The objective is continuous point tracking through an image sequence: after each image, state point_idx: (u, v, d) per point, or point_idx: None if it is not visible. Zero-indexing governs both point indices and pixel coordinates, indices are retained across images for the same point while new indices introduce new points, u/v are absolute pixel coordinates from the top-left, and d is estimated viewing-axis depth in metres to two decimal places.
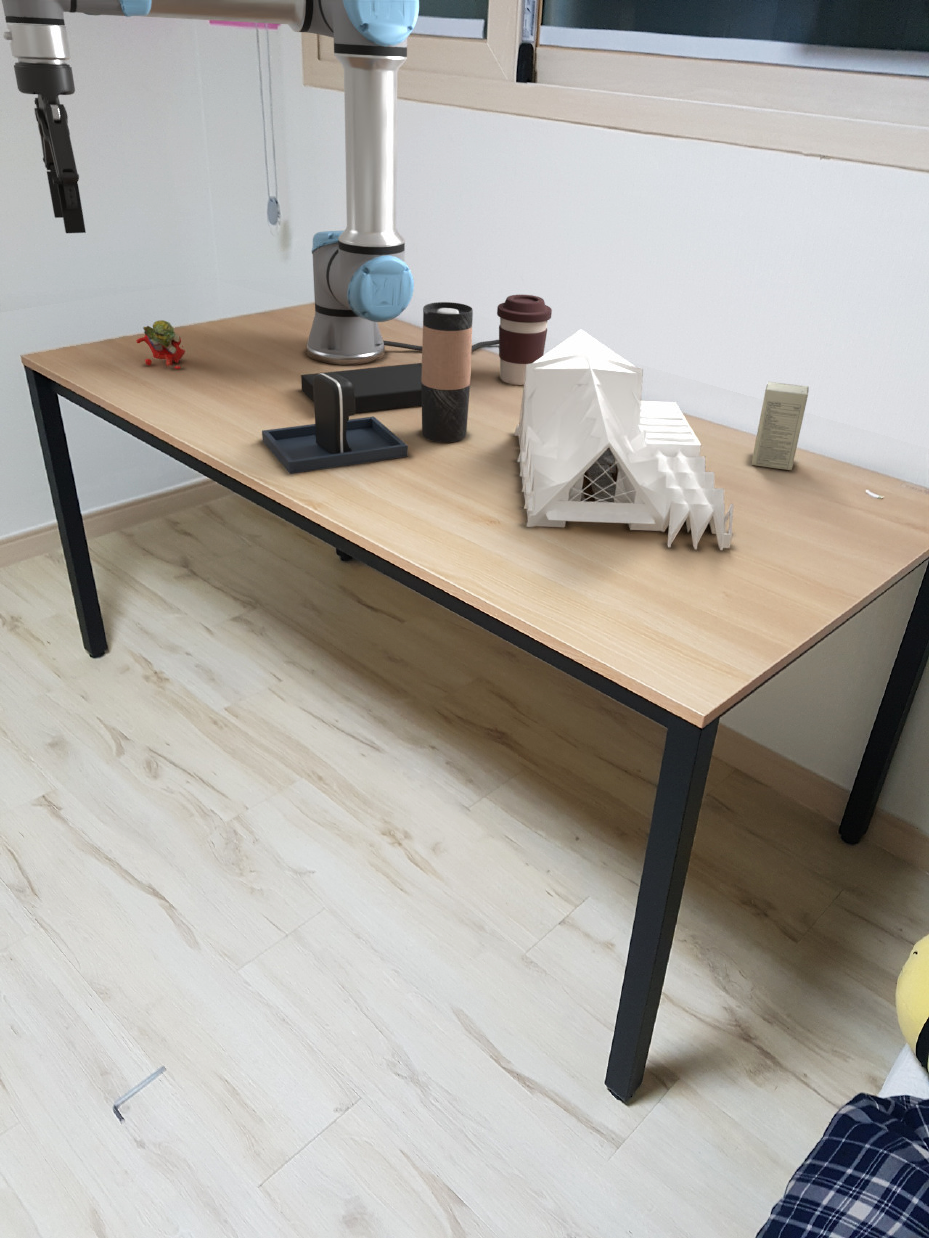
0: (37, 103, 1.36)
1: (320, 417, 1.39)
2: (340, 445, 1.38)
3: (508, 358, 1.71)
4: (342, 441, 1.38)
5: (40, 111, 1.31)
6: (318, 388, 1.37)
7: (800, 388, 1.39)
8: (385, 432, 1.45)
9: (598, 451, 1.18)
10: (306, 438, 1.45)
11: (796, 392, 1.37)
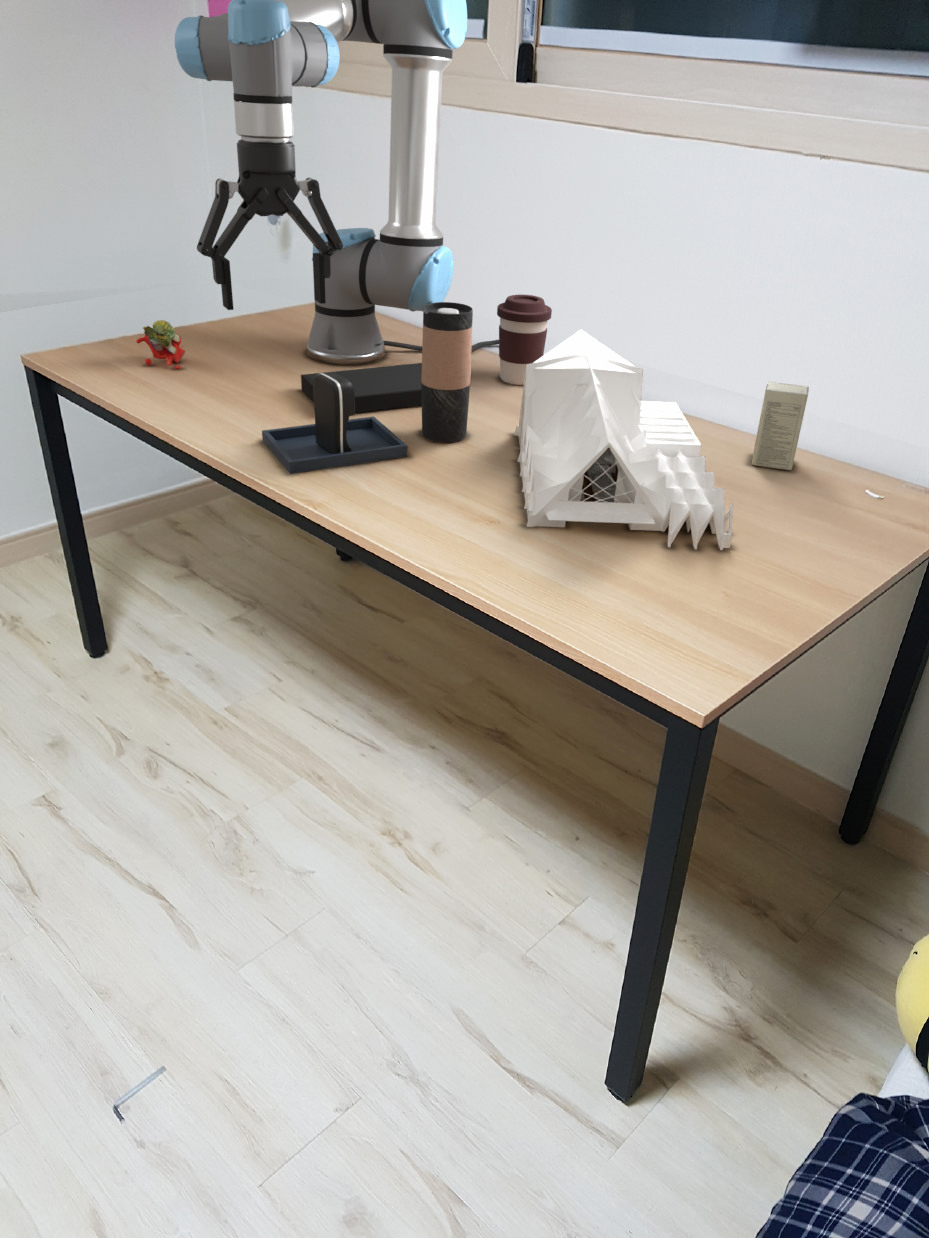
0: None
1: (320, 417, 1.39)
2: (340, 445, 1.38)
3: (508, 358, 1.71)
4: (342, 441, 1.38)
5: None
6: (318, 388, 1.37)
7: (800, 388, 1.39)
8: (385, 432, 1.45)
9: (598, 451, 1.18)
10: (306, 438, 1.45)
11: (796, 392, 1.37)
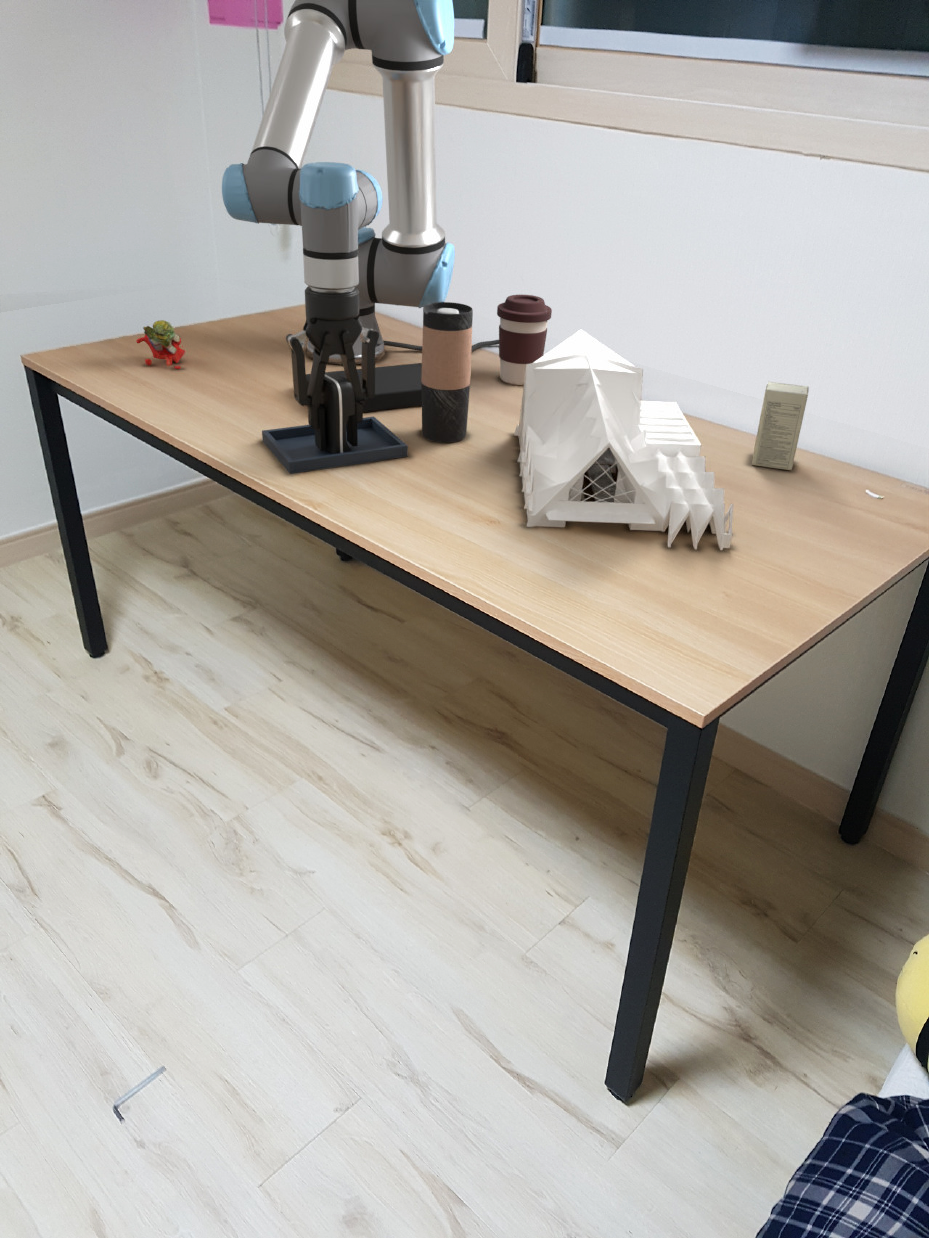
0: None
1: None
2: (340, 445, 1.38)
3: (508, 358, 1.71)
4: (342, 441, 1.38)
5: None
6: None
7: (800, 388, 1.39)
8: (385, 432, 1.45)
9: (598, 451, 1.18)
10: (306, 438, 1.45)
11: (796, 392, 1.37)
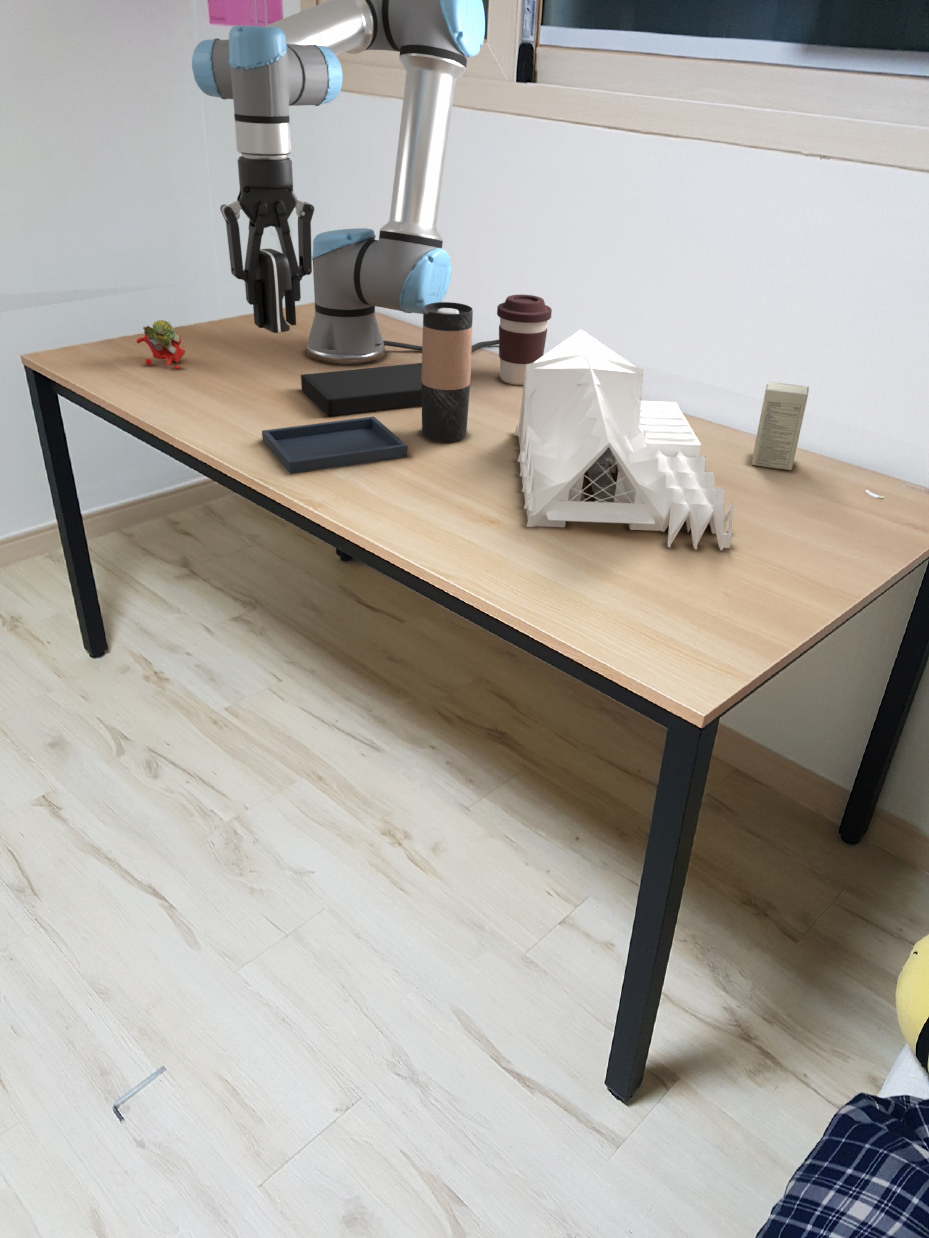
0: None
1: None
2: (277, 321, 1.39)
3: (508, 358, 1.71)
4: (279, 317, 1.39)
5: None
6: None
7: (800, 388, 1.39)
8: (385, 432, 1.45)
9: (598, 451, 1.18)
10: (306, 438, 1.45)
11: (796, 392, 1.37)
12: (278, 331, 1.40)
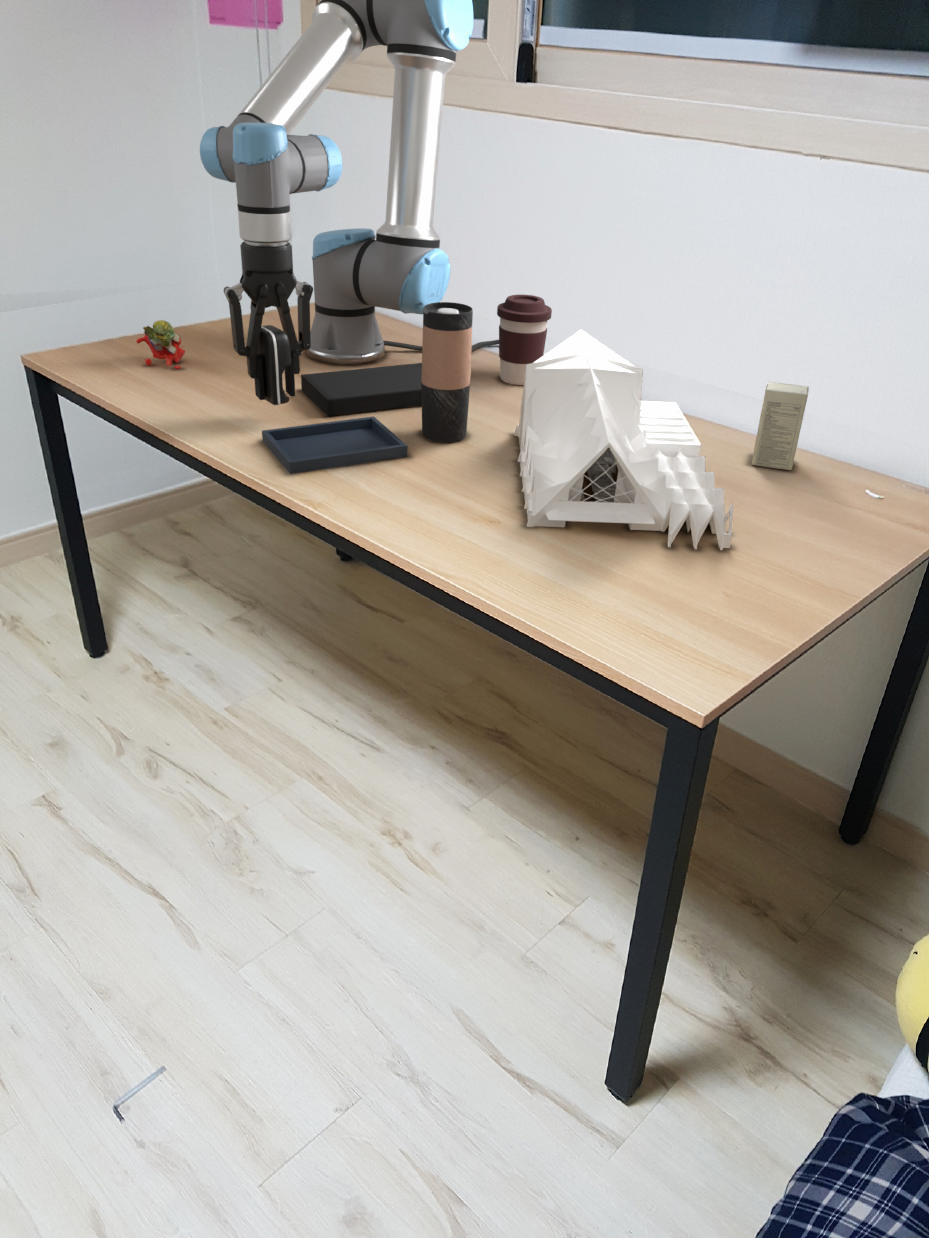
0: None
1: None
2: (277, 394, 1.46)
3: (508, 358, 1.71)
4: (279, 390, 1.46)
5: None
6: None
7: (800, 388, 1.39)
8: (385, 432, 1.45)
9: (598, 451, 1.18)
10: (306, 438, 1.45)
11: (796, 392, 1.37)
12: (278, 403, 1.47)
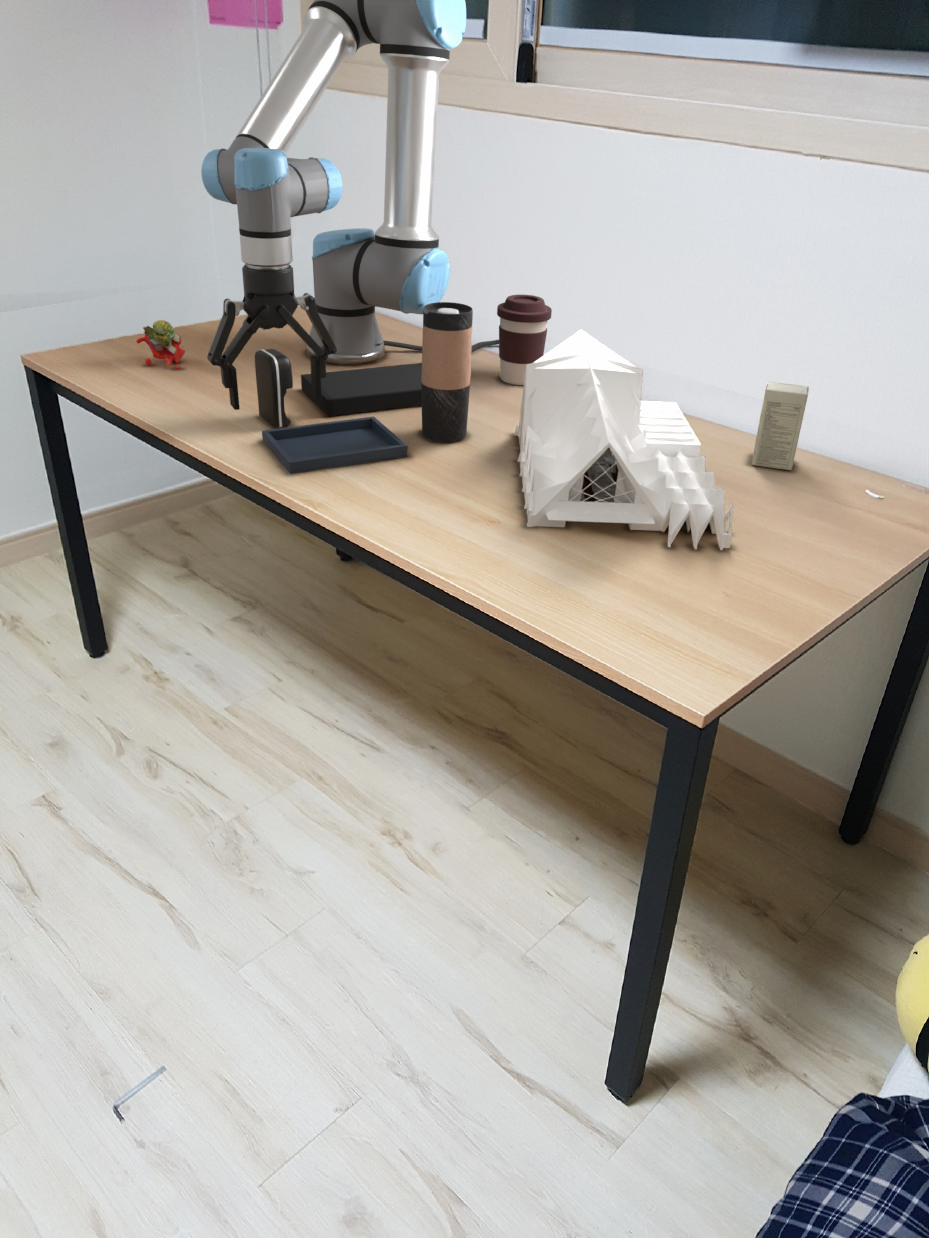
0: None
1: (261, 391, 1.49)
2: (279, 417, 1.48)
3: (508, 358, 1.71)
4: (280, 413, 1.48)
5: None
6: (258, 363, 1.47)
7: (800, 388, 1.39)
8: (385, 432, 1.45)
9: (598, 451, 1.18)
10: (306, 438, 1.45)
11: (796, 392, 1.37)
12: (279, 426, 1.49)
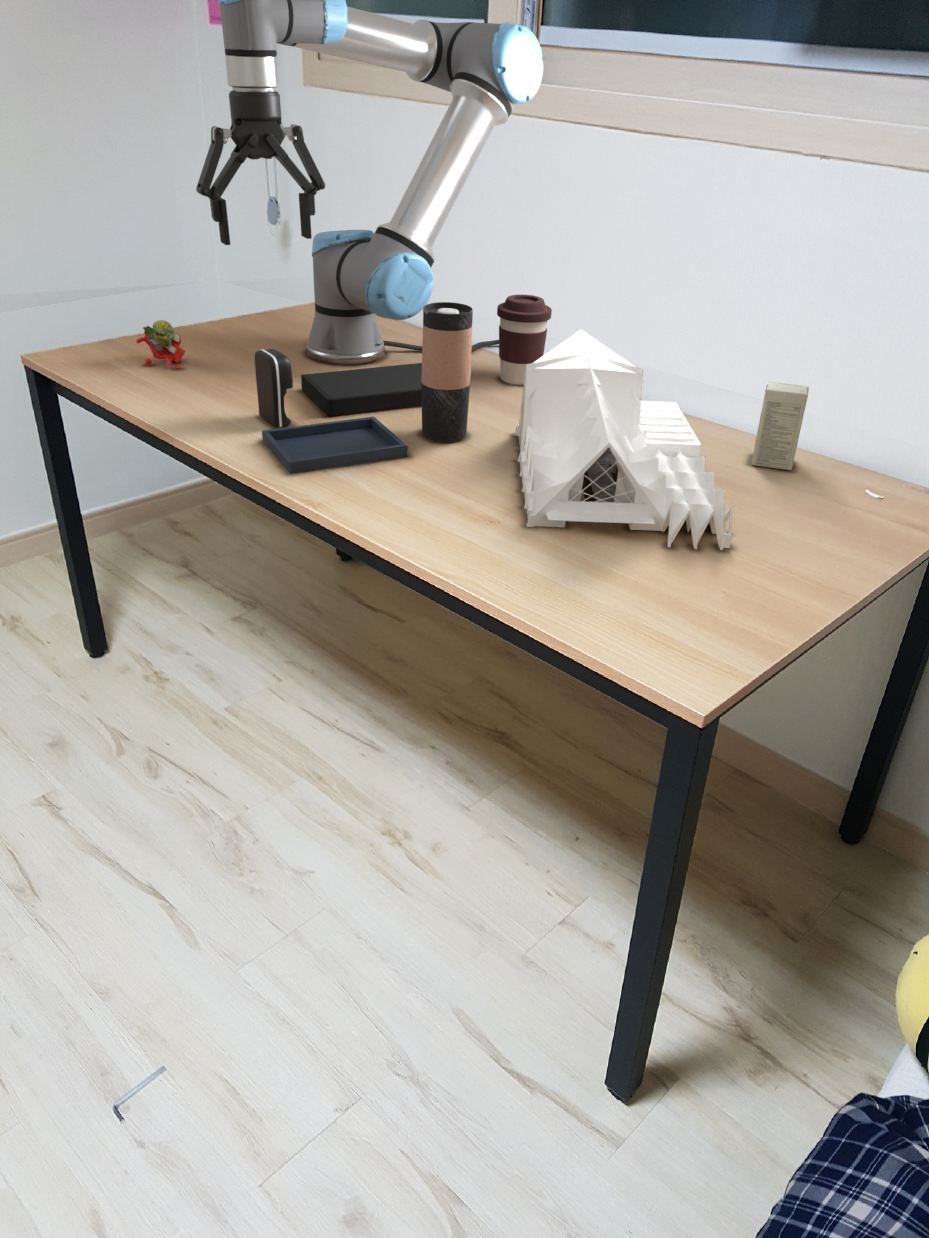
0: None
1: (261, 391, 1.49)
2: (279, 417, 1.48)
3: (508, 358, 1.71)
4: (280, 413, 1.48)
5: None
6: (258, 363, 1.47)
7: (800, 388, 1.39)
8: (385, 432, 1.45)
9: (598, 451, 1.18)
10: (306, 438, 1.45)
11: (796, 392, 1.37)
12: (279, 426, 1.49)
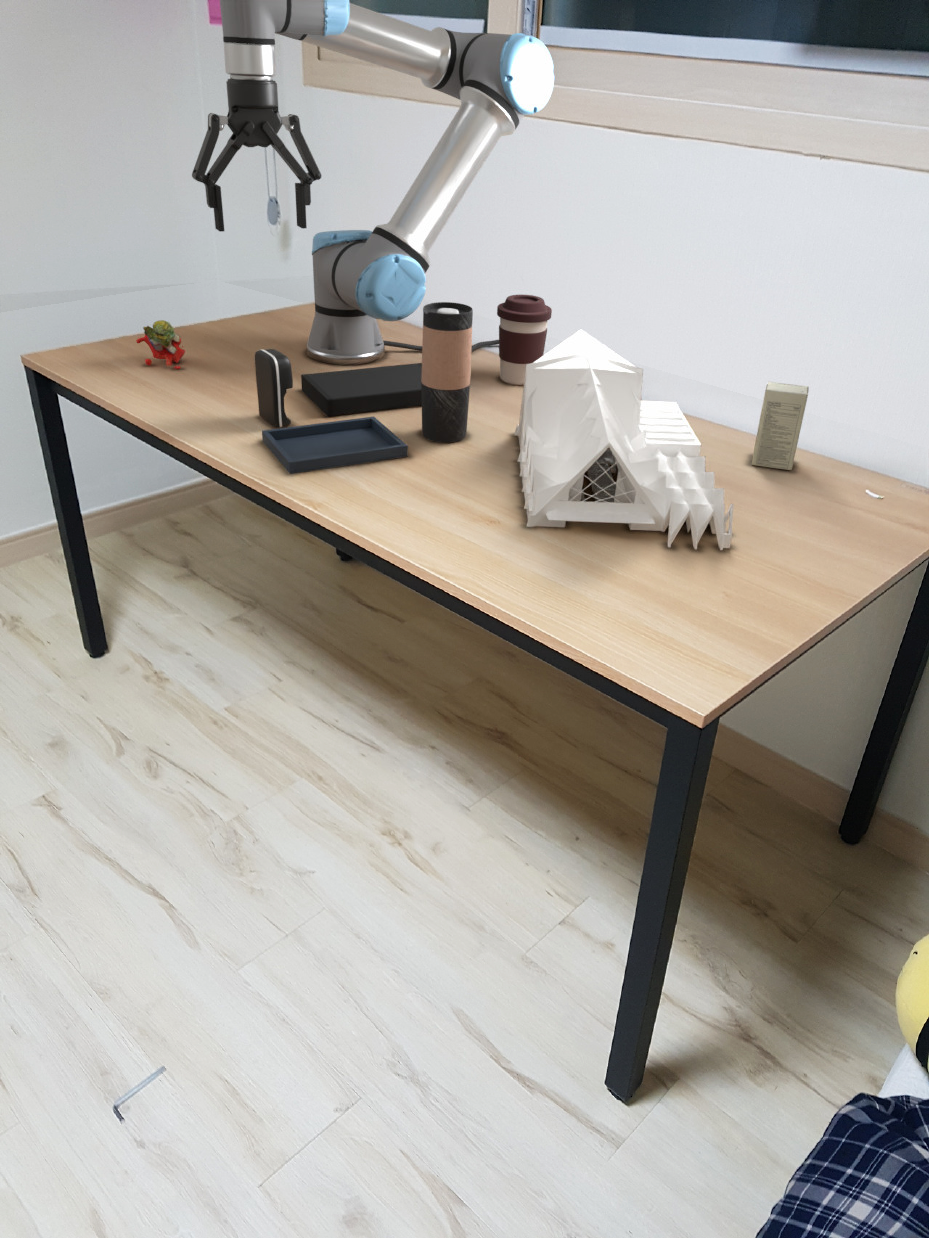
0: None
1: (261, 391, 1.49)
2: (279, 417, 1.48)
3: (508, 358, 1.71)
4: (280, 413, 1.48)
5: None
6: (258, 363, 1.47)
7: (800, 388, 1.39)
8: (385, 432, 1.45)
9: (598, 451, 1.18)
10: (306, 438, 1.45)
11: (796, 392, 1.37)
12: (279, 426, 1.49)
